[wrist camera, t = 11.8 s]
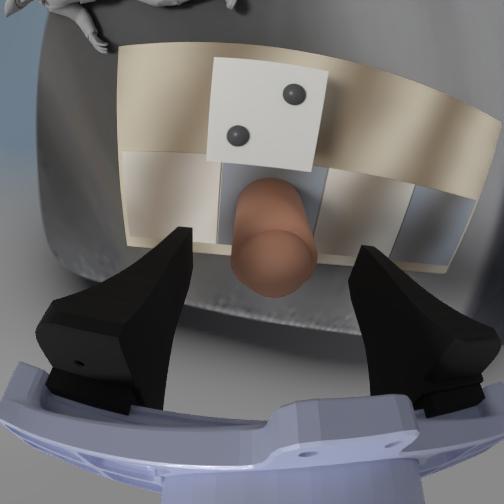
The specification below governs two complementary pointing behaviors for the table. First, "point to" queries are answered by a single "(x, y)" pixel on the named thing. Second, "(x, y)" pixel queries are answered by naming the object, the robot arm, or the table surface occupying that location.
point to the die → (264, 113)
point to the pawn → (272, 239)
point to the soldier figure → (85, 13)
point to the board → (324, 164)
